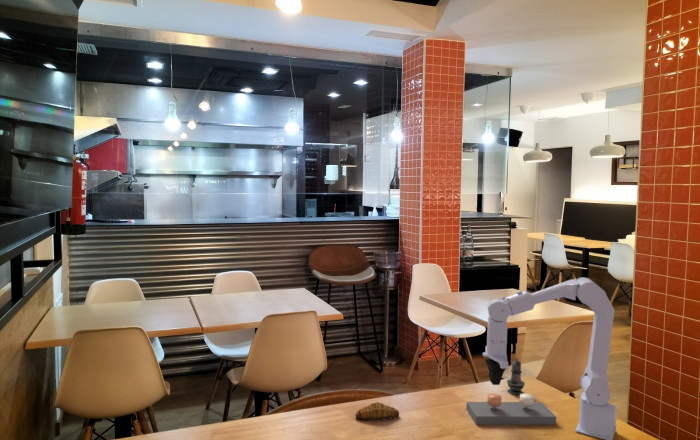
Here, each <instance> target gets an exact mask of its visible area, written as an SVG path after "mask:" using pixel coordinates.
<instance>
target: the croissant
mask: <svg viewBox="0 0 700 440" xmlns="http://www.w3.org/2000/svg"><path fill="white" fill-rule="evenodd" d="M354 416H355V419H357V420H360V419H363V420H362V421H377V420H380V421H384V420H383V419H385V420H391V419H390V418H392V419H395V418H394V417H396V418H398V417H400V411H399V410H398V409H397V408H395V407H393V406H390V405H386V404H384V403H382V402H378V401H377V402H373V403H372V402H371V403H370V404H368V405H366V406H364V407H362V408H360V409H359V410H357V411H356V412H355V415H354Z"/></svg>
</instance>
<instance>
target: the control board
mask: <svg viewBox="0 0 700 440" xmlns="http://www.w3.org/2000/svg"><path fill="white" fill-rule="evenodd" d="M465 411H466V412H468V414H469V416H470V418H471V419H472V421H473V423H474V424H475V425H476V426H478V425H481V426H482V425H483V426H487V425H488V426H489V425H491V426H493V425H494V426H497V425H498V426H503V425H504V426H512V425H513V426H519V425H520V426H526V425H527V426H535V425H536V426H557V415H555V414H554V412H552V411H551V410H550V409H549V408H548V407H547V406H546V405H545V404H544V403H543V401H534V405H533V406H532V407H528V410H525V406H523V405H521V404H520V401H501V406H499V407H496V410H492V406H490V405H489V404H488V403H487V401H466V410H465Z"/></svg>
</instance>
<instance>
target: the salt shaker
mask: <svg viewBox="0 0 700 440" xmlns="http://www.w3.org/2000/svg"><path fill="white" fill-rule="evenodd" d="M511 366H512V367H511V369H510V372H511V377H510V378H509V379H507V380H506V383H507V386H508V387H509V389H507V390H506V392H507V393H508V394H510V395H513V396H519V397H520V394H525V393H524V392H523V391H522V390H523V389H524V387H525V385H526V384H525V381H523V380H522V377H521V375H522V373H523V372H522V363H521V362H520V361H519V358H515V360H513V361H512V365H511Z"/></svg>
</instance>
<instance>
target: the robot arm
mask: <svg viewBox="0 0 700 440" xmlns="http://www.w3.org/2000/svg"><path fill="white" fill-rule="evenodd" d="M576 297H577V298H578V300H579V301H580V302H581V303H583V304H585V305H586V306H587V307H589V308H590V309H591V310H592V311H593V321H592V329H591V335H590V342H589V343H590V344H589V350H588V351H589V352H588V361H587V365H586V366H585V368H584V373H583V374H582V376H581V377H580V380H579V384H580V388H581V389H582V390H583V392H582V393H581V395H580V399H579V400H580V401H579V417H578V423H577V425H576V427H575V429H574V431H575V432H576V433H581V434H583V435H587V436H591V437H593V438H599V439H602V440H613V439H614V436H615V433H616V431H617V405H615V404H612V403H610V399H611V391H610V388H609V376H608V364H609V355H610V351H611V349H610V348H611V340H612V332H613V327H614V326H613V325H614V319H615V318H614V317H615V309H614V306H613V305H612V303H611V300H610V298H609V297H608V295H607V293H606V291H605V290H604V289H603V288H601V286H599V285H598V284H597V283H595V282H594V281H593V280H592V279H590V278H588V277H578V278H576V279H575V278H574V279H568V280H565V281H562V282H560V283H558V284H554V285H552V286H549V287H545V288H543V289H541V290H537V291H535V292H528V291H526V290H524V291H522V290H517V291H516V293H514V294H512V295H508V296H501V298H494V299H491V301H490V302H489V303H488V306H487V311H488V317H487V318H488V319H487V321H488V323H487V329H486V331H487V332H486V334H487V335H486V345H485V351H484V352H482V356H483V357H485V358H484V362H485V364H486V367H487V370H488V376H489V381H490V383H491V384H492V385H493V386H500V384H501V382H502V378H503V375H504V373H505V371H506V370H507V369H509V362H508V355H507V354H508V353H507V344H508V323H507V322H508V318H509V317H510V316H512V317H514V316H516V315H519V314H522V313H526V312H530V311H532V310H533V309H534V307H535V306H536V305H537V304H541V303H544V302H549V301H553V300H557V299H560V298H566V299H570V300H572V301H576Z"/></svg>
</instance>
